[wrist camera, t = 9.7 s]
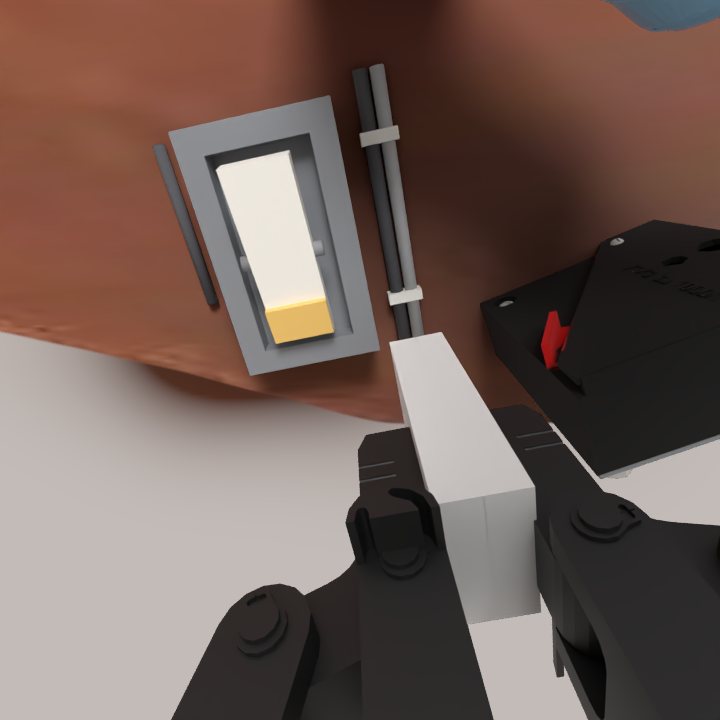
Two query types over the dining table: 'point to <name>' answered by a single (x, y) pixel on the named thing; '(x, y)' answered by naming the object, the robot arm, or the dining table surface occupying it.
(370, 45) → the dining table surface
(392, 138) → the dressed cords
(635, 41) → the dining table surface
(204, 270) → the dark grey thin bar
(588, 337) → the electrical component
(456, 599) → the robot arm
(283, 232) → the rocker
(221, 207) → the breaker housing
